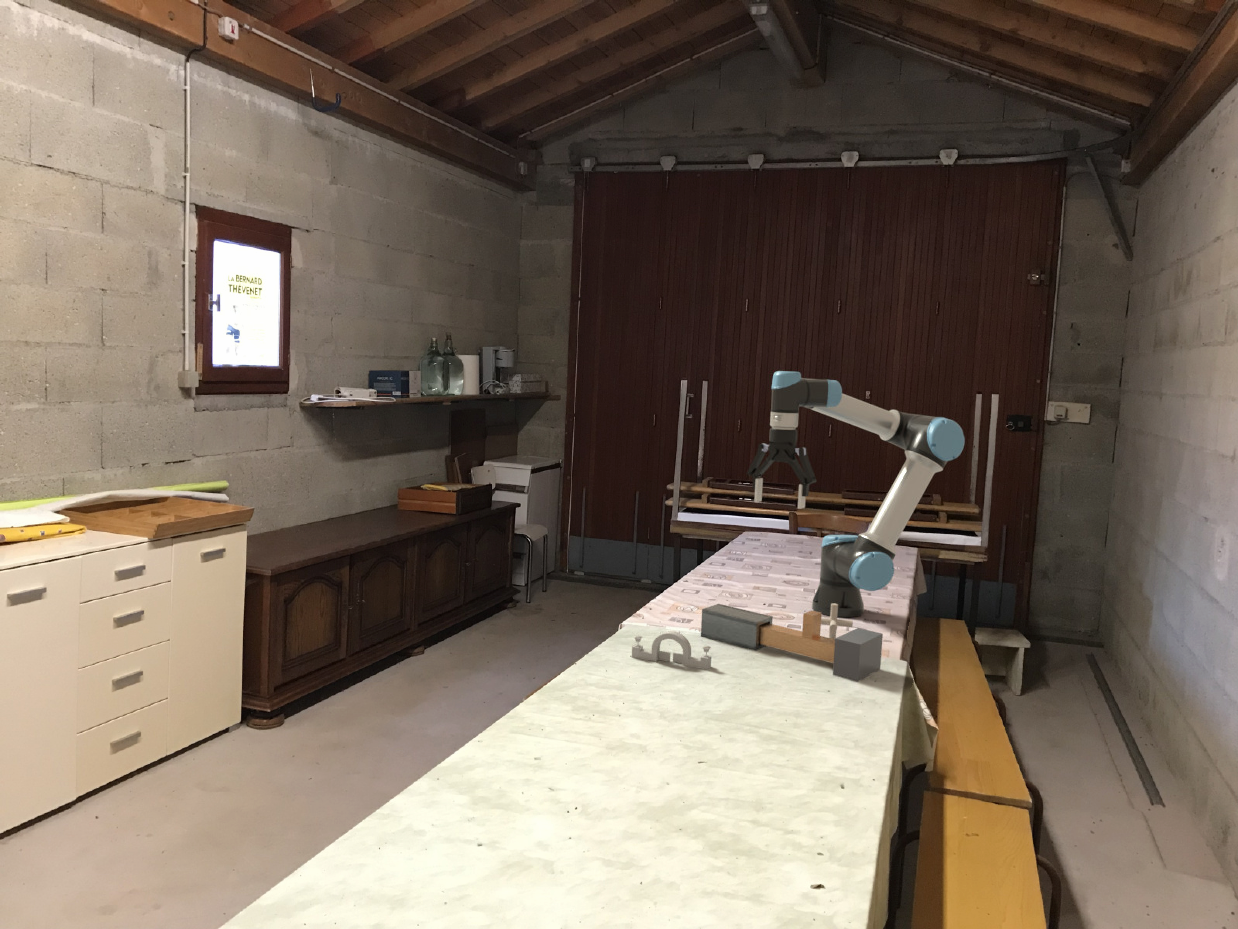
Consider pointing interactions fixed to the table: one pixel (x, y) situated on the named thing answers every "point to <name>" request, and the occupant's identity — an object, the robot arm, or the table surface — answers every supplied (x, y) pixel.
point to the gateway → (681, 658)
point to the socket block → (857, 654)
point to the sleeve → (733, 625)
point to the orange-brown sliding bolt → (799, 638)
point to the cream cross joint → (835, 621)
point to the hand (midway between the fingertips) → (779, 504)
